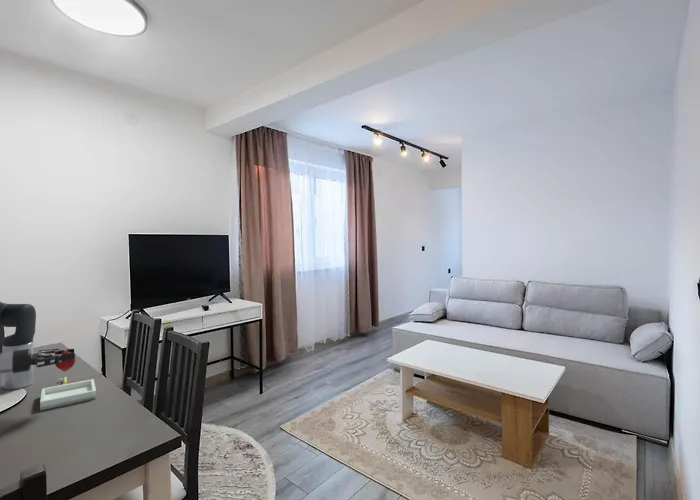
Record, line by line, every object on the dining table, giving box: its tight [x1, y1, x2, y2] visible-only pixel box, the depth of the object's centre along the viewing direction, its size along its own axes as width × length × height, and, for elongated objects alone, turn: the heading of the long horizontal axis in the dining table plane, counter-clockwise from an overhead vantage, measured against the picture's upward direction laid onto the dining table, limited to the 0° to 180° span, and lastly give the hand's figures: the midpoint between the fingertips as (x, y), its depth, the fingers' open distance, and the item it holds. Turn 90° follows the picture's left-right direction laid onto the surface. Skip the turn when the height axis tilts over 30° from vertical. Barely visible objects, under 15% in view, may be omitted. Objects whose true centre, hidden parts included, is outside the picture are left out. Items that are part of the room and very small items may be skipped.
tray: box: [39, 378, 97, 411], centre depth 136 cm, size 14×16×3 cm
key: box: [58, 376, 70, 385], centre depth 146 cm, size 7×12×2 cm, turn 56°
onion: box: [54, 349, 76, 372], centre depth 131 cm, size 6×6×8 cm
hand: (74, 353), depth 133 cm, fingers closed on onion, 5 cm apart
